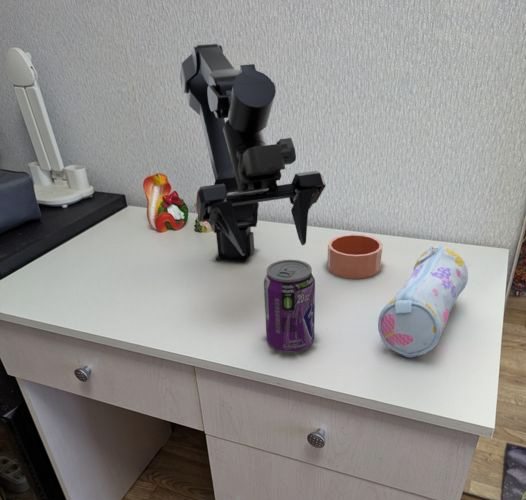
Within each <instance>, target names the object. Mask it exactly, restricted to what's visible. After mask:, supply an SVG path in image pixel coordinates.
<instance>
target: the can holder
mask: <svg viewBox="0 0 526 500" xmlns="http://www.w3.org/2000/svg"><path fill="white" fill-rule="evenodd" d="M383 247H384V245H383V243H382V242H381V240H380V239H378V238H375V237H373V236H370V235H366V234H355V233H354V234H343V235H339V236H336V237H334V238H332V239H330V240H329V242H328V244H327V263H326V265H327V269H328V271H329V272H330V273H331V274H333V275H334V276H336V277H339V278H343V279H351V280H358V279H360V280H361V279H367V278H371V277H373V276H375V275H377V274H378V273H379V272H380V270H381V266H382V258H383V257H382V256H383Z"/></svg>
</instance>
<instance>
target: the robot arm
mask: <svg viewBox="0 0 526 500" xmlns="http://www.w3.org/2000/svg"><path fill="white" fill-rule="evenodd" d="M229 60H230V59H228V58H227V56H226V55H225V53H224V50H223V46H222V44H218V43H216V42H215V43H201V44H196V45H195V46H192V49H191V54H190V55H189V56H187V58H185V60H183V61H182V62H181V65H180V75H179V76H180V86H181V91H182V94H184V95H185V96H186V99H187V104H188V106H189V108H191V109H192V110H193V111H194V112H195V113H196V114H197V115H198V116H199V117H200V122H201V127H202V130H203V136H204V138H205V144H206V147H207V152H208V157H209V160H210V165H211V169H212V173H213V177H214V183H213V184H211V185H203V186H200V187H199V189H198V190H197V192H196V202H195V206H196V213H197V217H198V221H199V222H207V221H208V224H209V226H210V228H211V230H212V232H213V233H214V234H215V237H216V248H217V255H216V256H215V261H220V262H231V263H233V262H234V263H247V262H248V261H249V259H250V258H251V256H252V255H253V253H254V252H255V250H256V249H255V236H254V235H255V234H254V232H253V231H252V228H256V227H257V224H258V216H259V207H260V203H261V202H262V203H263V202H269V201H275V200H277V201H278V200H284V199H289V202H290V204H291V205H292V207H291V209H290V211H291V215H292V220H293V223H294V226H295V230H296V234H297V238H298V240H299V242H300V244H301V246H305V245H306V243H307V235H308V234H307V233H308V219H309V218H308V217H309V211H310V209H311V208H312V206H313V205H314V204H316V203H317V202H318V200H319V198H320V197H321V195H322V193H323V191H324V190H325V188H326V186H327V185H326V181H325V178H324V176H323V174H322V173H321V172H320V171H318V170H313V171H306V172H305V171H304V172H298V173H297V172H296V173H295V174H294V176H293V178H292V181H291V183H285V184H279V185H278V183H277V181H281V178H282V172H281V171H282V170H285V169H286V165H292V164H293V163H294V162H296V159H297V154H296V153H297V152H296V148H295V145H294V142H293V139H292V137H286V138H280V139H279V140H278V141H277V142H276V143H274V144H267V141H266V138H265V135H264V131H263V130H264V129H266V128H267V126H268V123H269V120H270V115H271V112H272V107H273V105H274V100H275V97H276V93H277V92H276V91H277V89H276V85H275V83H274V81H272V79H271V78H270V77H269V76H268V75H267V74H265V73H263V72H261V71H259V70H257V69H256V65H255V64H254V63H251V64H241V65H240V66H239V69H236V68H235V67H234V66H233V64H232V63H231V62H230V61H229ZM225 119H227V120H225Z"/></svg>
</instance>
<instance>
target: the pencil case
mask: <svg viewBox="0 0 526 500" xmlns="http://www.w3.org/2000/svg"><path fill="white" fill-rule="evenodd" d="M468 274H469V272H468V266H467V264H466V262H465V260H464V259H463V258H462V257H461V256H460V255H459V254H458V253H457V252H455V251H454V250H452V249H450V248H448V247H444V246H443V245H439V246H438V247H437V248H436V247H434V246H430V247H429V248H428V249H426V250H425V251H424V252H423V253H422V254H421V255H420V256H419V258H417V259H416V262H415V264H414V267H413V270H412V272H411V273H410V274H409V276H408V277H407V278H406V279H405V282H404V283H403V285H402V286H401V288H400V289H399V290H398V291H397V292H396V293H395V294H394V296H393V297H392V298H391V299H390V300H389V301H388V302H387V303H386V304H385V305H384V306H383V308H382V309H381V311H380V313H379V315H378V319H377V331H378V334H379V336H380V339H381V340H382V342H383V343H384V344H385V345H386V346H387V347H388V348H390V349H391V350H392V351H394V352H395V353H396V354H399V355H401V356H403V357H405V358H416V357H419V356H421V355H425V354H427V353H428V352H430V351H431V350H433V349H435V347H436V346H437V345H438V344H439V342H440V339H441V336H442V334H443V331H444V329H445V328H446V326H447V322H448V319H449V316H450V313H451V311H452V309H453V308H454V306H455V305H456V302H457V300H458V299H459V296H460V294H461V293H462V292H463V291H464V290H465V288H466V286H467V284H468V281H469V275H468Z"/></svg>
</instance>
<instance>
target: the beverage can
mask: <svg viewBox="0 0 526 500" xmlns="http://www.w3.org/2000/svg"><path fill="white" fill-rule="evenodd" d="M312 272H313V269H312V265H310V264H309V263H307V262H306V261H302V260H300V259H299V260H298V259H282V260H278V261H274V262H272V263H270V264H269V265H268V266H267V267H266V275H265V277H264V281H263V296H264V313H265V314H264V317H265V333H266V342H267V344H268V345H269V347H271V348H273V349H274V350H277V351H281V352H285V353H286V352H287V353H288V352H289V353H290V352H291V353H292V352H299V351H303V350H305V349H307V348H309V347H311V345H312V344H313V343H314V341H315V325H316V324H315V323H316V318H315V317H316V314H315V313H316V280H315V277H314V275H313V273H312Z"/></svg>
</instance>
